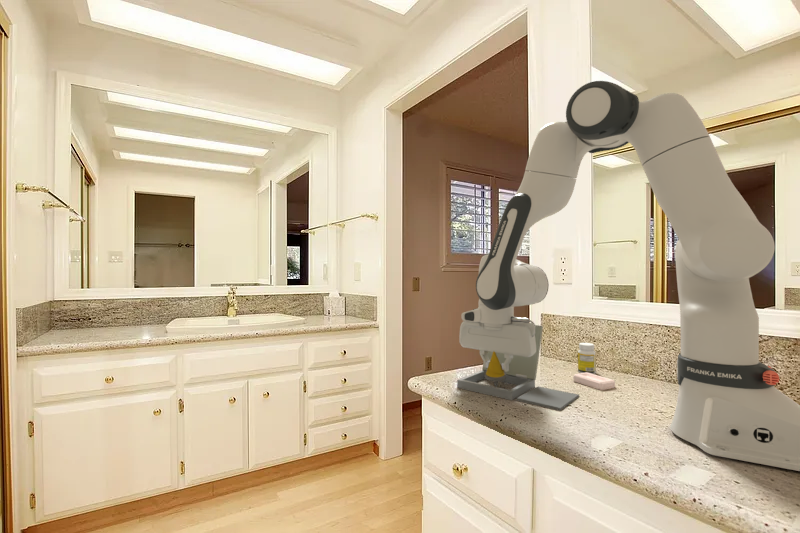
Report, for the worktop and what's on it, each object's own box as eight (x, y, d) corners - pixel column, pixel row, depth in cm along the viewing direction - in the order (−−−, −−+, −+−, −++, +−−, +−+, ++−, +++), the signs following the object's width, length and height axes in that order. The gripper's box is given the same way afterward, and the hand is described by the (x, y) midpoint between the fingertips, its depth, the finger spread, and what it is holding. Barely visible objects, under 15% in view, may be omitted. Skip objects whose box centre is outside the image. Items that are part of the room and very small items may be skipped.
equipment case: (546, 381, 110) (546, 324, 110) (511, 400, 94) (511, 334, 94) (496, 371, 120) (495, 319, 120) (457, 387, 104) (457, 327, 104)
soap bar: (586, 380, 112) (586, 371, 112) (616, 389, 103) (616, 380, 103) (572, 382, 110) (572, 373, 109) (601, 392, 101) (601, 382, 101)
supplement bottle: (582, 369, 121) (582, 341, 121) (598, 373, 118) (598, 344, 118) (574, 372, 118) (574, 343, 118) (591, 376, 115) (590, 346, 115)
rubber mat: (578, 397, 96) (578, 394, 96) (560, 410, 87) (560, 408, 87) (537, 388, 103) (537, 386, 103) (516, 400, 94) (516, 398, 94)
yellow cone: (504, 382, 107) (503, 346, 105) (508, 391, 101) (506, 353, 100) (484, 383, 107) (482, 347, 106) (486, 392, 102) (484, 354, 100)
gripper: (540, 317, 100) (540, 373, 100) (468, 311, 113) (468, 361, 113) (529, 320, 95) (529, 379, 95) (456, 313, 108) (456, 365, 109)
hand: (496, 369), depth 104 cm, fingers open, 3 cm apart
